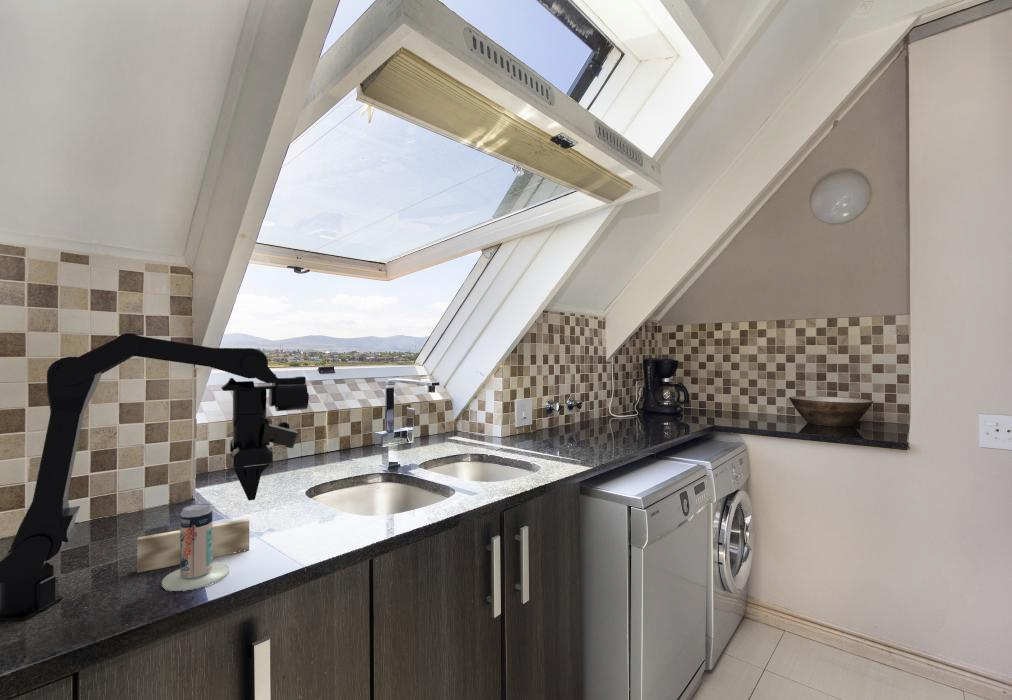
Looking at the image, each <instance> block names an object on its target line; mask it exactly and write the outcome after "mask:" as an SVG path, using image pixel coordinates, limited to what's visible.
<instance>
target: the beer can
mask: <svg viewBox="0 0 1012 700" xmlns="http://www.w3.org/2000/svg"><path fill="white" fill-rule="evenodd" d="M179 516H180V523H179V524H180V526H179V527H180V529H179V530H180V564H179V569H180V576H181V577H183V578H186V579H195V578H199V577H202V576H204V575H206V574H207V573H208V572H210V571H211V570H212V562H213V558H212V525H213V508H211V505H210V504H209V503H203V502H201V503H195V504H194V503H193V504H191V505H187V506H185V507H183V509H182V510H181V512H180V515H179Z"/></svg>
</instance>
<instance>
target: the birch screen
mask: <svg viewBox="0 0 1012 700" xmlns="http://www.w3.org/2000/svg"><path fill="white" fill-rule="evenodd" d="M136 542H137V546H136V547H137V548H136V550H137V551H136V557H137V558H136V560H137V562H136V563H137V564H136V567H137V568H136V569H137V570H136V571H137V574H139V573H144V572H148V571H153V570H159V569H164V568H168V567H172V566H178V565H179V566H180V529H179V530H178V529H177V530H173V531H169V532H161V533H156V534H151V535H150V534H148V535H144V536H139V537H137V541H136ZM244 550H248V551H250V518H244V519H238V520H237V519H236V520H233V521H226V522H221V523H214V524H213V523H212V557H213V558H216V557H217V556H218V557H222V556H221V555H223V556H227V555H226V554H228V555H231V554H230V553H233V554H235V553H234V552H238V553H240V552H239V551H243V552H245V551H244ZM218 557H217V558H218Z"/></svg>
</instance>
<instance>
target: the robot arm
mask: <svg viewBox="0 0 1012 700" xmlns="http://www.w3.org/2000/svg"><path fill="white" fill-rule="evenodd" d="M133 357H137V358H139V357H140V358H145V359H152V360H158V361H159V360H160V361H166V362H173V363H180V364H181V363H182V364H188V365H194V366H203V367H209V368H213V369H214V370H215V369H216V370H219V371H221V372H226V373H229V374H231V375H235V376H239V377H240V378H241V377H242V378H244V379H245V378H246V379H257V380H259V381H260V382H263V383H265V384H271V385H255V382H254V381H253V380H248V381H247V380H246V381H245V380H243V381H236V380H235V379H234V378H233V377H230V378H229V379H228V380H227V382H226V383H225V384H224V385H222V386H221V390H222V391H224V392H230V391H231V392H232V420H231V421H232V422H231V423H232V439H231V440H230V441H229V453H230V457H231V460H232V468H233V470H234V472H235V474H236V476H237V477H236V478H238V482H239V483H240V486H241V487H242V489H243V492H244V494H245V496H246V499H247V500H248V501H255V500H256V497H257V492H258V488H259V484H260V480H261V477H262V474H263V472H264V471H265V470H266V469H267V468H270V466H271V465H272V463H273V462H274V461H273V454H274V453H273V451H272V450H271V448H269V447H268V446H270V443H272V444H276V445H280V446H285V448H289V449H294V446H295V444H296V442H297V438H298V436H299V431H297V430H295V429H294V428H293V429H292V428H291V427H290V423H289V422H286V421H282V420H280V421H279V422H278V423H277V424H271V423H270V419H269V418H268V417H267V390H268V403H269V407H274V408H275V411H276V412H285V411H301V410H307V409H308V407H309V401H310V400H309V399H310V395H309V394H310V393H309V392H308V385H307V382H306V381H307V379H306V376H294V377H277V375H276V373H274V372H273V371H272V370H271V368H270V367H269V361H268V357H267V355H266V354H265V353H264V352H263V351H262V350H260V349H257V348H252V347H251V348H250V347H249V348H248V347H246V348H245V347H244V348H243V347H209V346H204V345H199V344H198V345H196V344H192V343H184V342H181V341H180V342H178V341H175V340H174V341H172V340H166V339H159V338H156V337H155V338H154V337H153V338H152V337H148V336H142V335H138V334H136V333H133V332H126V333H123V334H120V335H119V336H117V337H116V338H115V339H113V340H111V341H108V342H106V343H104V344H102V345H100V346H98V347H96V348H93V349H91V350H90V351H88V352H85V353H83V354H82V355H80V356H66V357H62V358H59V359H57V360H56V361H54V362H53V363H51V364H50V366H49V367H48V369H47V371H46V390H47V391H46V392H47V393H46V394H47V398H48V405H49V410H50V411H49V412H50V413H49V414H50V415H49V420H48V424H47V429H46V434H45V440H44V443H43V448H42V454H41V458H40V459H41V460H40V464H39V467H38V472H37V476H36V477H37V479H36V483H35V487H34V493H33V498H32V502H31V503H30V506H29V508H28V510H27V511H26V514H25V516H23V519H22V521H21V523H20V525H19V527H18V529H17V532H16V534H15V536H14V538H13V540H12V542H11V546H10V549H9V550H8V551H6V552H5V554H4V555H3V556H2V557H1V558H0V621H25V620H27V619H28V618H29V619H30V618H31V617H33V616H34V615H36V614H38V613H40V612H41V611H44V610H45V609H47V608H49V607H51V606H52V605H54V604H56V603H58V602H60V601H62V600H63V599H64V595H56V580H57V579H56V577H57V576H56V575H55V573H54V572H55V571H54V569H55V566H54V564H51V563H50V562H49V560H52V559H53V558H54V557H55V556H56V555H57V554H58V553H59V551H61V549H62V548H63V546H64V545H65V544H67V543H69V541H70V540H71V538H72V537H73V535H74V533H75V532H76V531H77V527H76V519H77V515H78V513H79V510H80V509H81V506H80V505H78V506H71V507H70V505H69V504H70V503H69V489H70V485H71V480H72V474H73V470H74V469H73V468H74V464H75V460H76V454H77V449H78V444H79V439H80V435H81V429H82V426H83V425H82V424H83V419H84V414H85V412H86V410H87V408H88V405H89V404H90V402H91V400H92V398H93V396H94V393H95V392H96V390H97V387H98V385H99V382H100V380H101V377H102V375H103V374H105V373H106V372H109V371H110V370H112V369H113V368H116V367H117V366H119V365H120V364H122V363H124V362H126V361H127V360H129V359H131V358H133Z"/></svg>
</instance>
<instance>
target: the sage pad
mask: <svg viewBox="0 0 1012 700" xmlns="http://www.w3.org/2000/svg"><path fill="white" fill-rule="evenodd" d="M229 573H230V566H229V565H228V564H227V563H224V562H221V561H212V570H211V571H210V572H208V573H207V574H206V575H204V576H202V577H199V578H195V579H186V578H183V577H181V576H180V568H179V569H176V570H174V571H172V572H170V573H169V574H167V575H166V576H165V577H163V578H162V581H161V588H162V587H163V588H164V589H165V591H167V590H168V591H167V592H172V591H183V592H188V591H187V590H191V591H195V590H194V589H196V590H199V589H198V588H200V589H202V588H201V587H203V588H205V587H204V586H206V587H208V586H207V585H209V586H211V585H210V584H212V583H214V584H216V583H218V582H220V581H222V580H223V579H225V578H226V577H227V576H228V575H229ZM227 574H228V575H227ZM226 575H227V576H226ZM225 576H226V577H225ZM224 577H225V578H224ZM222 578H223V579H222ZM221 579H222V580H221ZM219 580H220V581H219ZM217 581H218V582H217ZM215 582H216V583H215ZM212 585H213V584H212ZM163 588H162V589H163ZM164 589H163V590H164Z"/></svg>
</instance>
